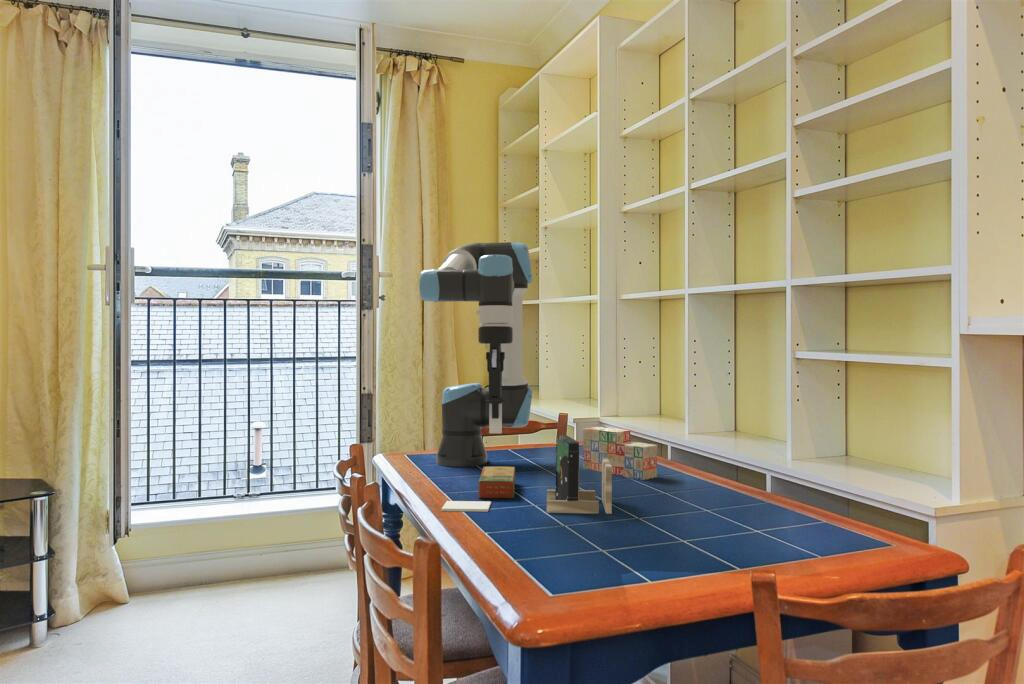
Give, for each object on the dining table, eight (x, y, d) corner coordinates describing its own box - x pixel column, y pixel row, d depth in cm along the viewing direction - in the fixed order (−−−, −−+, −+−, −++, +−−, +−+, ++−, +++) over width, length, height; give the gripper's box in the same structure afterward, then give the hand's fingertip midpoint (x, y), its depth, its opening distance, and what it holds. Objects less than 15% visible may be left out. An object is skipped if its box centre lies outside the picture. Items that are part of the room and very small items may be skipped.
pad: (446, 503, 153) (446, 500, 153) (490, 504, 152) (490, 501, 152) (441, 511, 146) (441, 508, 146) (488, 512, 145) (488, 509, 145)
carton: (515, 482, 172) (515, 465, 172) (514, 498, 156) (514, 480, 156) (482, 482, 172) (482, 465, 172) (478, 498, 156) (478, 480, 156)
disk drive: (580, 511, 145) (580, 441, 145) (567, 511, 144) (567, 441, 144) (566, 499, 155) (567, 434, 155) (555, 500, 154) (555, 435, 154)
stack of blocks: (657, 480, 180) (657, 433, 180) (642, 483, 175) (642, 435, 175) (597, 468, 196) (597, 425, 196) (582, 471, 192) (582, 427, 192)
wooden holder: (547, 500, 155) (547, 456, 155) (607, 501, 155) (607, 457, 155) (546, 513, 144) (546, 465, 144) (611, 513, 143) (611, 466, 143)
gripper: (480, 326, 156) (480, 429, 156) (476, 325, 143) (476, 437, 143) (513, 326, 156) (513, 429, 156) (511, 325, 143) (511, 437, 143)
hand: (495, 432), depth 150 cm, fingers closed
